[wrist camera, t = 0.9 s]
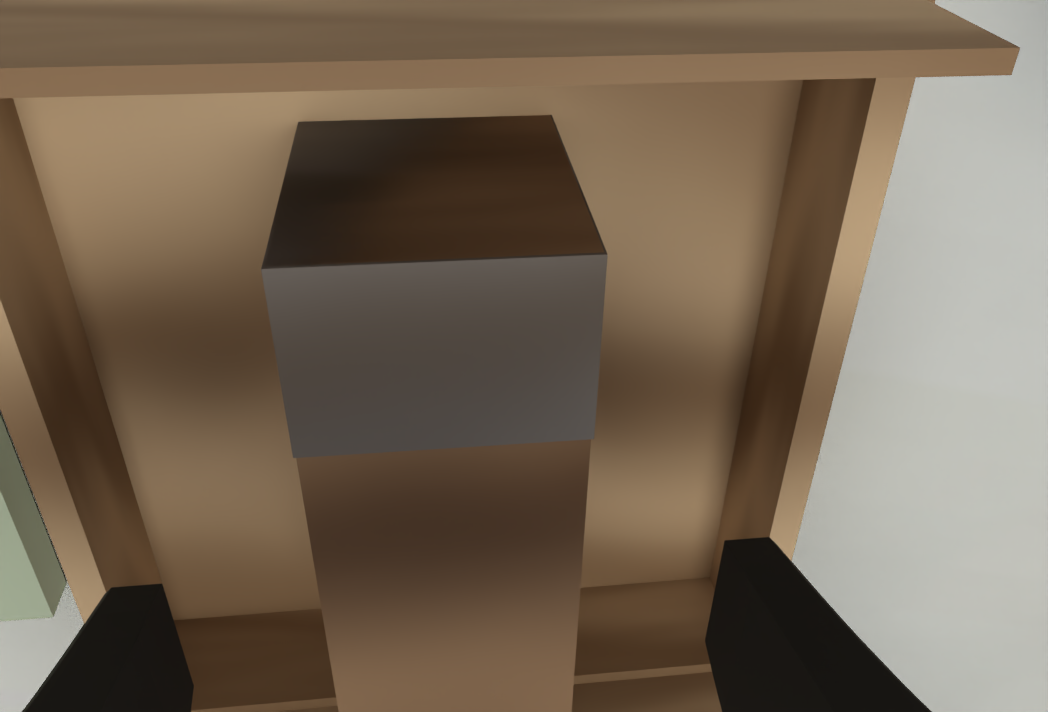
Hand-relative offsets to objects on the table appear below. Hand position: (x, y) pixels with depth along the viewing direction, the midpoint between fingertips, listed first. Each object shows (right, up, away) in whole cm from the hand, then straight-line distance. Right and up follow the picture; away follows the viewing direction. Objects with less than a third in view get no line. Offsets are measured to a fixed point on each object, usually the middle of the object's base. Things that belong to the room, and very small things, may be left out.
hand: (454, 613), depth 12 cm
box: (-1, +3, +6) cm, 7 cm away
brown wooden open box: (-1, +3, +7) cm, 8 cm away
